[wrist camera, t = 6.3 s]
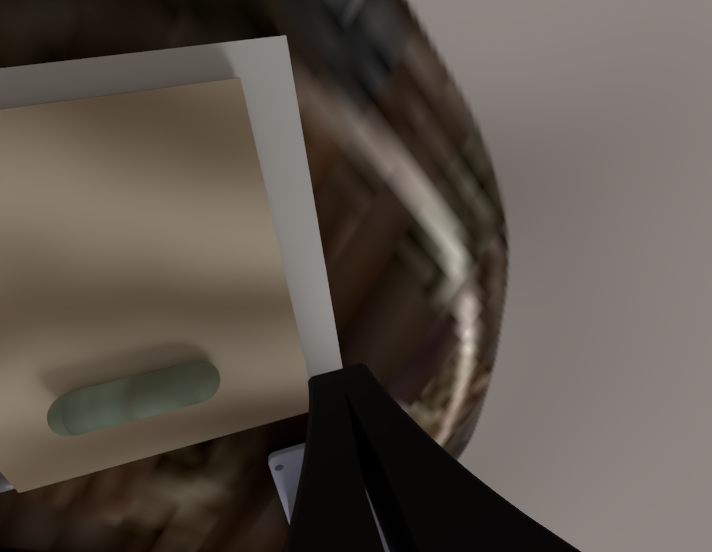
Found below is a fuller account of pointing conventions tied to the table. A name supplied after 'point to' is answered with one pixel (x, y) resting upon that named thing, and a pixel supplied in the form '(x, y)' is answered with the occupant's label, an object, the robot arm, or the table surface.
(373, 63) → the table surface
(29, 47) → the table surface
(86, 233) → the board
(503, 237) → the table surface
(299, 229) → the light grey square plate
